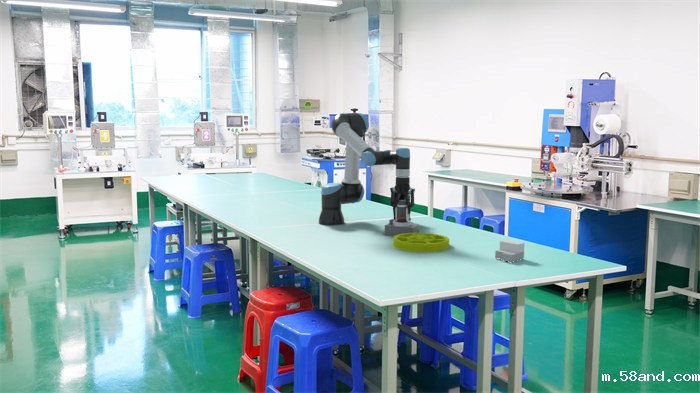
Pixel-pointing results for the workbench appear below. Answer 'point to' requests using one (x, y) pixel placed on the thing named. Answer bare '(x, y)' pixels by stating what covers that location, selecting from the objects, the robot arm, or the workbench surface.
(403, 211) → the lens
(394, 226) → the plate with octagonal ring
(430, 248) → the pulley
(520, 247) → the foam block
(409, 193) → the electrical component
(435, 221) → the workbench surface
